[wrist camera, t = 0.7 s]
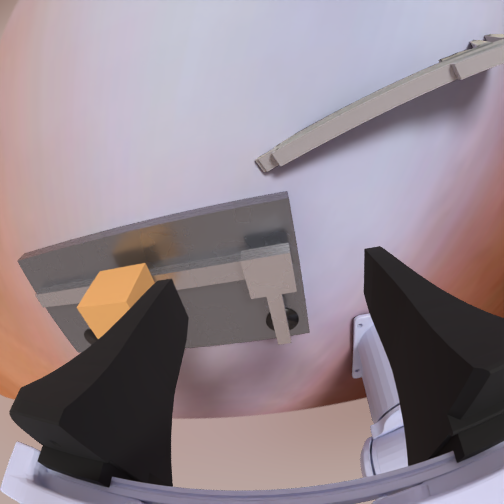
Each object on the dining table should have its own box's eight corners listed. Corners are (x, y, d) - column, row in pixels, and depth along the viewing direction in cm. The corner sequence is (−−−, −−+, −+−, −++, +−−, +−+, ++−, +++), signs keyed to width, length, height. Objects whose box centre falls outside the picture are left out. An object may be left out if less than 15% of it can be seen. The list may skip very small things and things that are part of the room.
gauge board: (308, 322, 26) (312, 352, 23) (81, 344, 29) (70, 367, 26) (287, 191, 20) (292, 213, 17) (24, 253, 23) (4, 274, 20)
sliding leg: (189, 338, 25) (179, 385, 21) (148, 341, 26) (134, 386, 21) (149, 255, 21) (126, 301, 16) (104, 264, 21) (76, 307, 17)
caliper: (484, 33, 12) (543, 35, 7) (490, 46, 13) (549, 51, 7) (254, 158, 19) (252, 194, 13) (264, 171, 19) (266, 212, 14)
